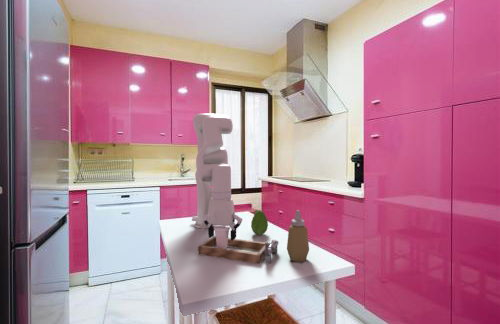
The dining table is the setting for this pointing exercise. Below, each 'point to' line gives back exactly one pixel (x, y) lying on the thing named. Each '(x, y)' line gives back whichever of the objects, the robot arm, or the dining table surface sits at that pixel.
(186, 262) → the dining table surface
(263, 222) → the avocado
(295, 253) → the squeeze bottle
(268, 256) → the grey metal handle
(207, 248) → the bay
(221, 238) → the smoothie
